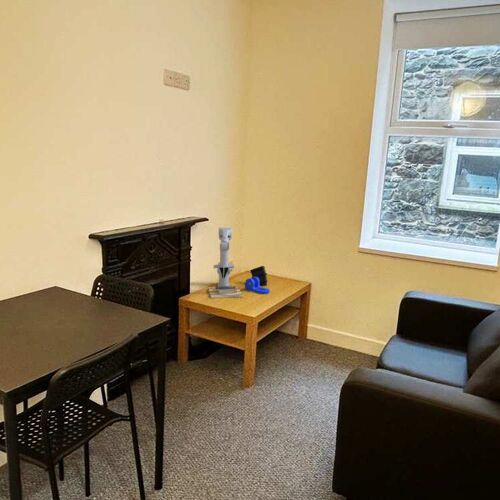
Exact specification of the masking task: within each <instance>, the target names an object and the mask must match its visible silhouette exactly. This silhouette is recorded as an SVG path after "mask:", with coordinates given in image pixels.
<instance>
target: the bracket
mask: <svg viewBox="0 0 500 500" xmlns="http://www.w3.org/2000/svg"><path fill="white" fill-rule="evenodd" d="M244 286H245V287H244V289H245V291H249V292H253V293H257V294H259V295H269V294H270V291H271V289H269V288H267V287H264V286H263V287H262V286H261V285H260V280H259V278H258V277H252V276H251V277H249V278H247V279H245V284H244Z"/></svg>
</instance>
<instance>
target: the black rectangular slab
mask: <svg viewBox="0 0 500 500" xmlns="http://www.w3.org/2000/svg"><path fill="white" fill-rule="evenodd" d="M249 273H250V274H251V278H252V277H258V278H259V280H260V287H262V286H263V287H267V285H268V283H269V282H268V277H267V275H268V273H267V272H266V266H264V265H260V266H258V267H255V268H252V269H250V272H249Z"/></svg>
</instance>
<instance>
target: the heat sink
mask: <svg viewBox="0 0 500 500" xmlns="http://www.w3.org/2000/svg"><path fill="white" fill-rule="evenodd" d="M217 287H233V285H229V286H218V285H217ZM217 290H218V293H219V294H233V289H217Z"/></svg>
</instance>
